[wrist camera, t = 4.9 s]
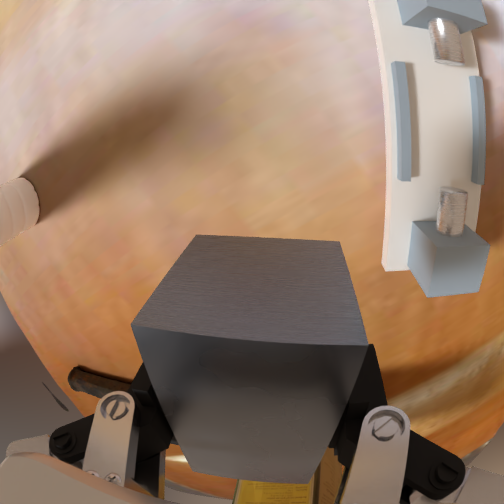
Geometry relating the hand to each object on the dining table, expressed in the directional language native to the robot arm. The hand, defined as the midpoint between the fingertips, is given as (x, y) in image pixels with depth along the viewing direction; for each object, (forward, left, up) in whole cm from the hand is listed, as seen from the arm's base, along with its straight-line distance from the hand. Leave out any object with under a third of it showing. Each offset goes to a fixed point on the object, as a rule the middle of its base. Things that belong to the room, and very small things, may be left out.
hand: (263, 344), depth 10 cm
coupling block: (0, 0, 0) cm, 0 cm away
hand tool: (+25, -26, -16) cm, 39 cm away
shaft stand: (-7, +13, -15) cm, 21 cm away
